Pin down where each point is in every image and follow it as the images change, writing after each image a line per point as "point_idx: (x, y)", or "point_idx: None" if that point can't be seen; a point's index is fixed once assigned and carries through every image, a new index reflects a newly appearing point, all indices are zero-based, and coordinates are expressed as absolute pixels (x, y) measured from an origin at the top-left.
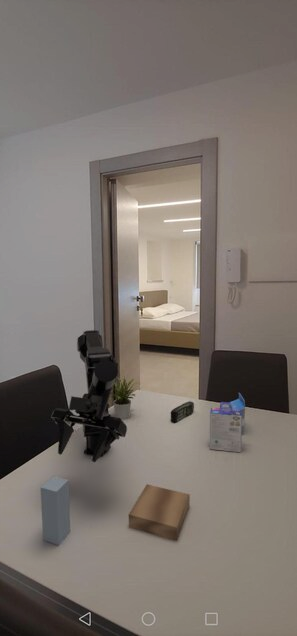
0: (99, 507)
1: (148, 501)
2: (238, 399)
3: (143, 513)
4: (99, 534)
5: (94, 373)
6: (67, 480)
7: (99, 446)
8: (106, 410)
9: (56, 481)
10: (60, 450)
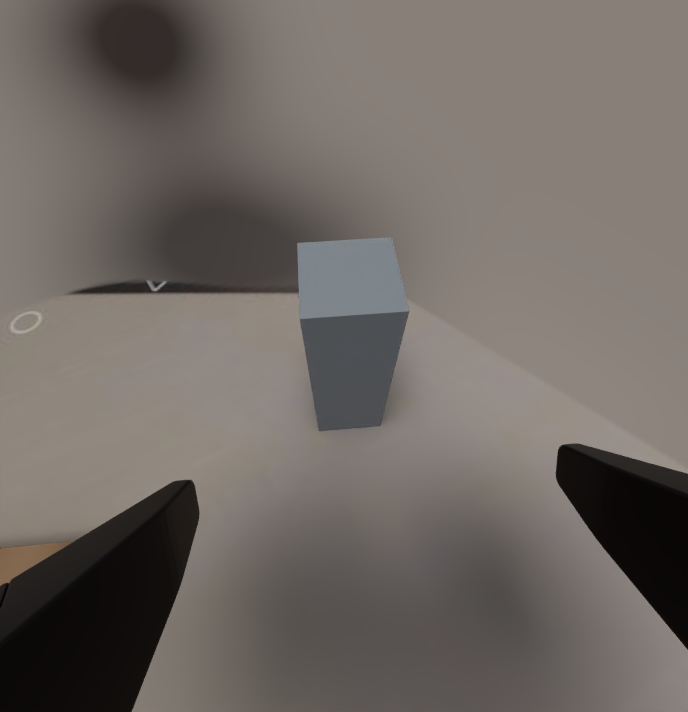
0: (283, 593)
1: None
2: None
3: (7, 579)
4: (217, 461)
5: None
6: (301, 314)
7: (33, 571)
8: None
9: (353, 288)
10: (579, 460)
